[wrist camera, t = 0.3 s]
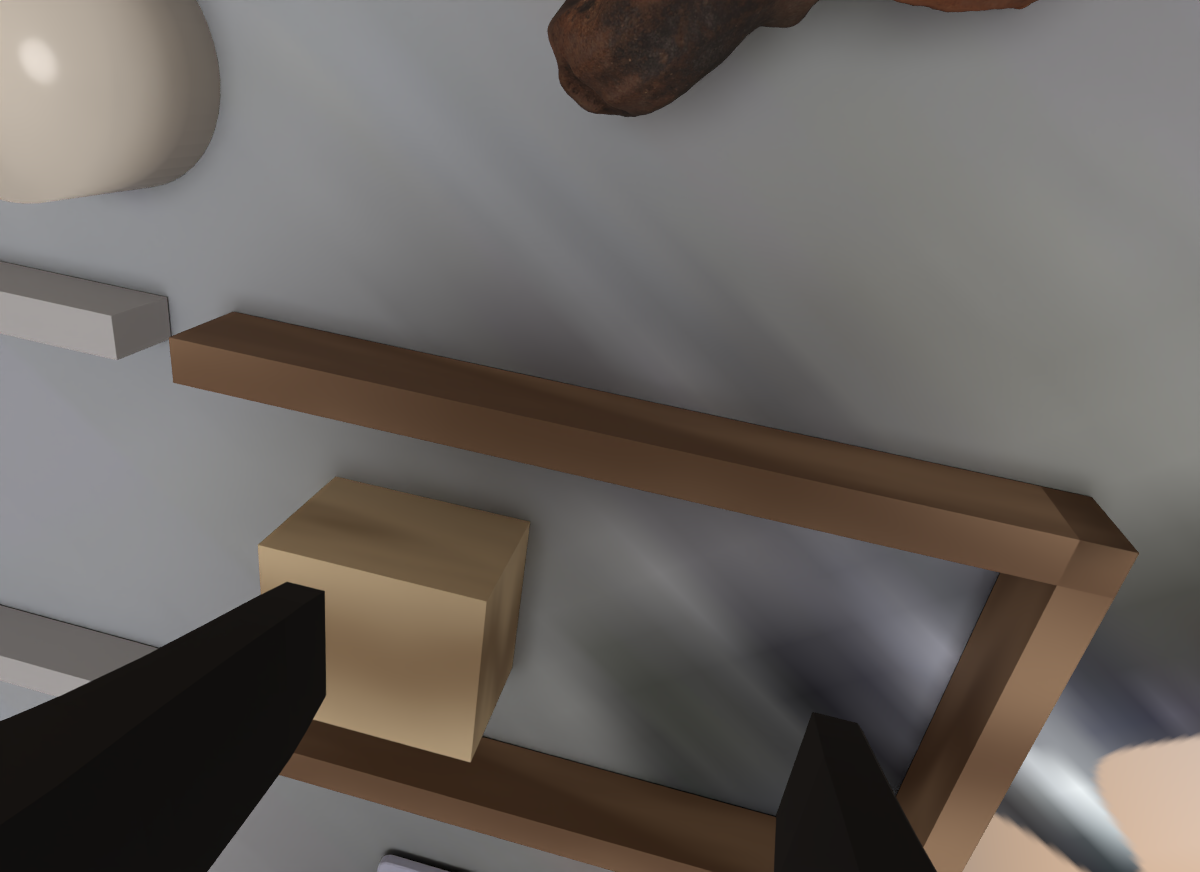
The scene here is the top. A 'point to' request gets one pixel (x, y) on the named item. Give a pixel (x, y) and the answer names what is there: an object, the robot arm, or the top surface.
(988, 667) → the brown u-shaped frame
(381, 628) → the oak block
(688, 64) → the pottery mug
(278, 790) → the top surface
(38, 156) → the cream egg-shaped dome
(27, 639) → the grey corral
